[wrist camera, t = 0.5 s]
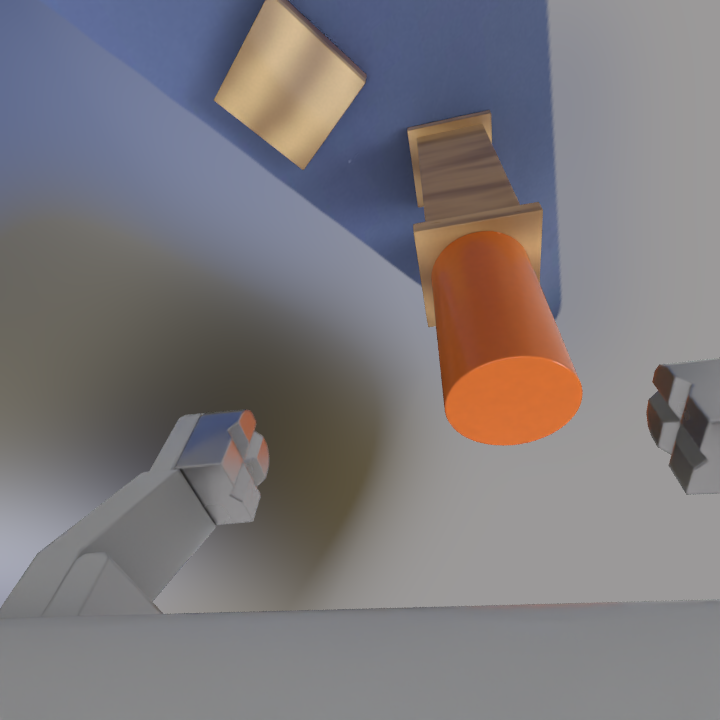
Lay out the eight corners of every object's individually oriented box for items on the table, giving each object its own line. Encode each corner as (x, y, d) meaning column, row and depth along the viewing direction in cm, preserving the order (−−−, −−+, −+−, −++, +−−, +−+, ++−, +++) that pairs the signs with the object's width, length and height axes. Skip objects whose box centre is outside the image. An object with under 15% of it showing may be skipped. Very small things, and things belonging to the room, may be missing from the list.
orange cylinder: (425, 239, 30) (438, 365, 21) (531, 222, 29) (590, 347, 20) (436, 319, 34) (450, 450, 26) (528, 306, 33) (576, 440, 24)
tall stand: (407, 127, 46) (413, 232, 30) (489, 109, 45) (543, 209, 28) (417, 203, 51) (428, 327, 35) (491, 189, 50) (538, 312, 34)
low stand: (222, 92, 45) (213, 100, 43) (276, -11, 39) (268, -8, 37) (307, 159, 49) (303, 170, 46) (367, 75, 43) (365, 82, 41)
